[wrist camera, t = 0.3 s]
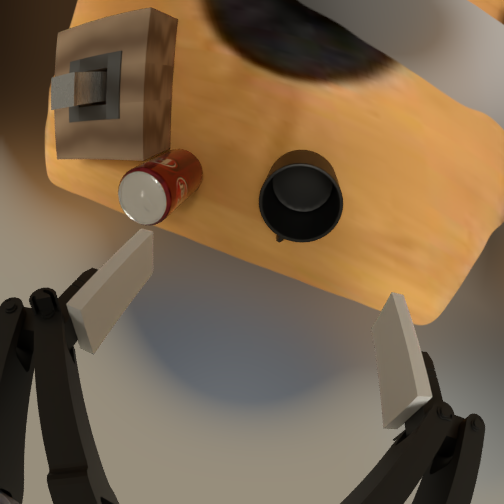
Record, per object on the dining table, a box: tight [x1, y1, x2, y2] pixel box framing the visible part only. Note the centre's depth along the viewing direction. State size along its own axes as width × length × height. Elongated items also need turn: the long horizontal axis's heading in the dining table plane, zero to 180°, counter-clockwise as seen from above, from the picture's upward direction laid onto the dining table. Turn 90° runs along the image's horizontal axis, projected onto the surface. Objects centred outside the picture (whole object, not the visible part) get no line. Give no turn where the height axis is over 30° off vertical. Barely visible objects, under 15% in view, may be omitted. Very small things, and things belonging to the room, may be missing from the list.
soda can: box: [118, 149, 202, 225], centre depth 37 cm, size 7×7×12 cm
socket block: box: [54, 8, 178, 161], centre depth 33 cm, size 20×16×8 cm
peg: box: [51, 72, 107, 110], centre depth 28 cm, size 4×4×8 cm
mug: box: [259, 150, 343, 242], centre depth 37 cm, size 9×12×9 cm
